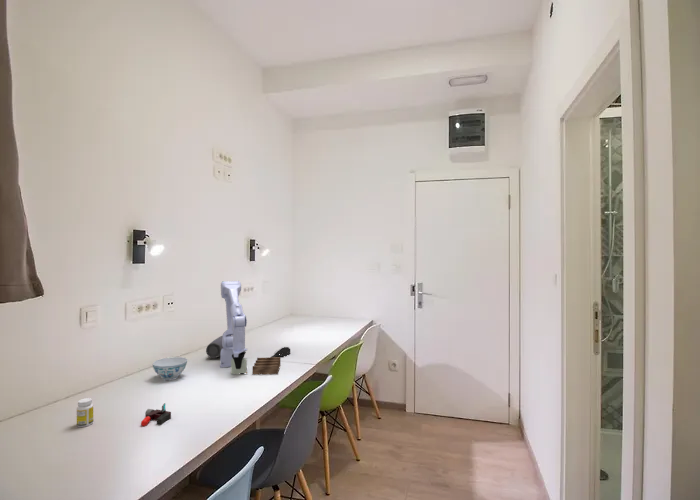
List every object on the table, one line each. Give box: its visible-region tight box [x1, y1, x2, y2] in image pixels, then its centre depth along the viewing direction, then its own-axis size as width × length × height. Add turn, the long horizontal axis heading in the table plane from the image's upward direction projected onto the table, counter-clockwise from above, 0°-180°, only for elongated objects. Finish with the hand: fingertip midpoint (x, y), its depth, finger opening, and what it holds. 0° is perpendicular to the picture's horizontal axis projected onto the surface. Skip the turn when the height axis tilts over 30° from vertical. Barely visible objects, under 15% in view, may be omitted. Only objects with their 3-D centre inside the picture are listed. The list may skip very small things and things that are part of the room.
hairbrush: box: [270, 346, 291, 358], centre depth 218 cm, size 8×4×25 cm
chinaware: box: [151, 356, 188, 381], centre depth 182 cm, size 15×15×8 cm
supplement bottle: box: [76, 397, 94, 428], centre depth 134 cm, size 5×5×8 cm
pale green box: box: [230, 357, 248, 375], centre depth 189 cm, size 7×2×7 cm, turn 95°
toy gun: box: [140, 402, 172, 427], centre depth 137 cm, size 10×12×5 cm
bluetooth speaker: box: [205, 335, 232, 359], centre depth 223 cm, size 23×9×10 cm, turn 179°
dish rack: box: [252, 356, 281, 375], centre depth 195 cm, size 12×15×4 cm
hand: (238, 367), depth 189 cm, fingers closed on pale green box, 2 cm apart
